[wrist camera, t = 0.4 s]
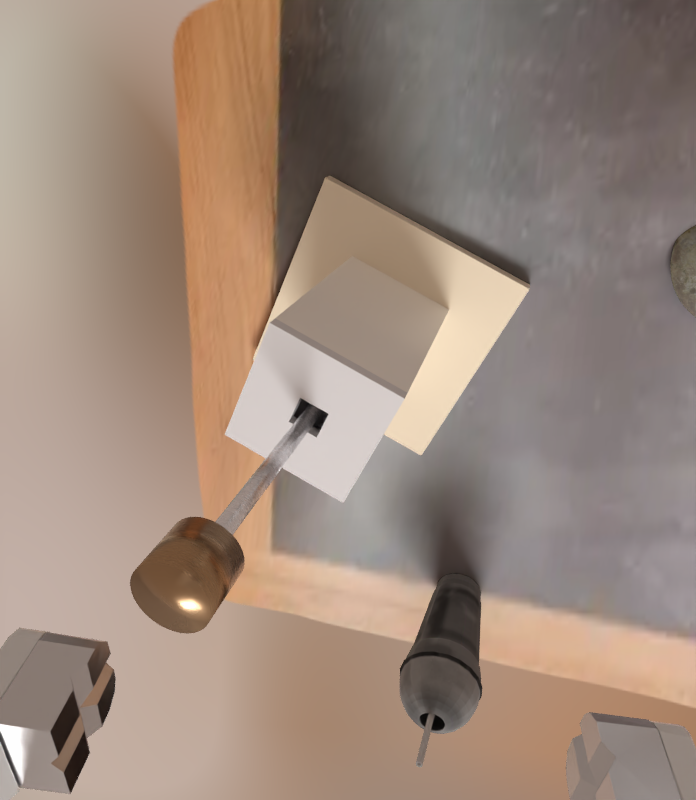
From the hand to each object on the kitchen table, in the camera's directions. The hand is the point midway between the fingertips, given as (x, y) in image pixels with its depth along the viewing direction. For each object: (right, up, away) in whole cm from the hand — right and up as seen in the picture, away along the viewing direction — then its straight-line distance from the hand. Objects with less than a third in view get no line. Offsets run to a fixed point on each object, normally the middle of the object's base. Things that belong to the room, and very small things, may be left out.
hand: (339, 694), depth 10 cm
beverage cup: (+12, -15, +53) cm, 56 cm away
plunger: (-1, +5, +29) cm, 30 cm away
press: (+3, +12, +42) cm, 44 cm away
